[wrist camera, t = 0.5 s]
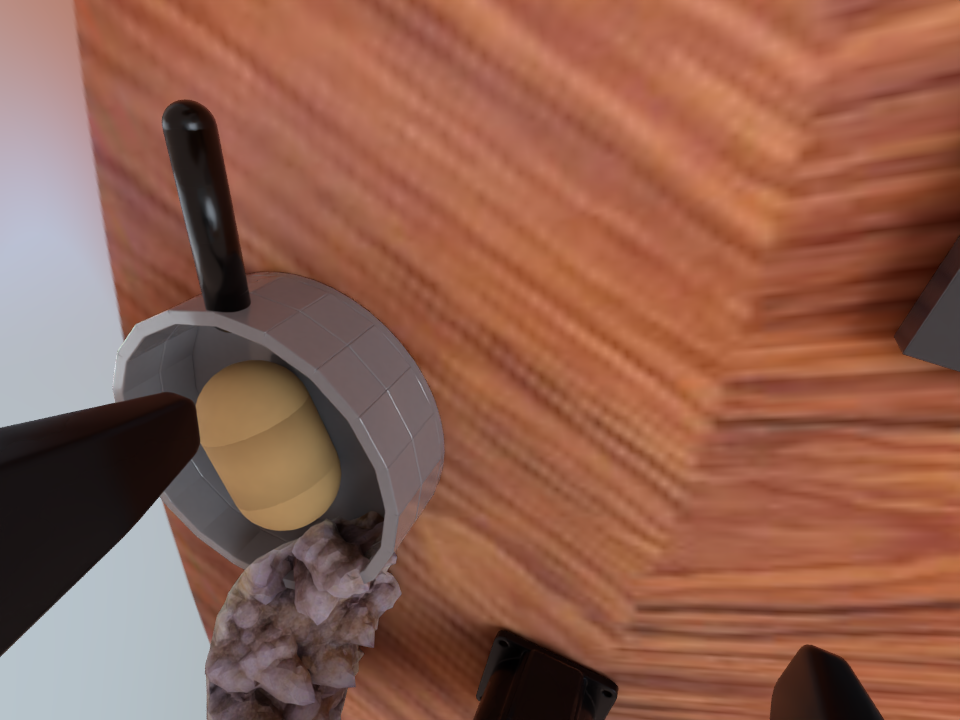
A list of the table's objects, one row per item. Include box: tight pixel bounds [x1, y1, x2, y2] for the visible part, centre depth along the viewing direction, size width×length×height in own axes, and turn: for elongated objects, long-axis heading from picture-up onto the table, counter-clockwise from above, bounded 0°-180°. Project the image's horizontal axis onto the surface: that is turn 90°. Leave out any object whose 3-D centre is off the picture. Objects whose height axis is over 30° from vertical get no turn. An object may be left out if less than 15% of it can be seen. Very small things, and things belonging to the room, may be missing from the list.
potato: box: [196, 360, 341, 531], centre depth 26 cm, size 8×5×5 cm, turn 19°
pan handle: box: [162, 100, 251, 333], centre depth 20 cm, size 8×2×2 cm, turn 179°
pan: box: [113, 272, 444, 590], centre depth 26 cm, size 14×14×4 cm
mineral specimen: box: [205, 511, 401, 720], centre depth 31 cm, size 20×10×10 cm
